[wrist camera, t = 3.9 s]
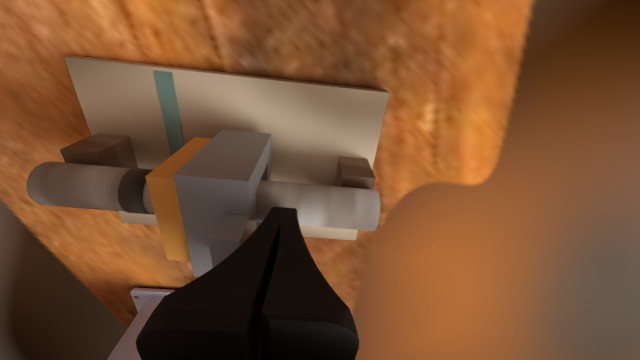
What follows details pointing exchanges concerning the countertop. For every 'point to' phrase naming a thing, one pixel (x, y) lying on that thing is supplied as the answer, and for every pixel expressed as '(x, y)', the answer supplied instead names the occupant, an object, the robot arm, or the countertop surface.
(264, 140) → the sleeve
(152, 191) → the orange square ring
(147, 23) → the countertop surface
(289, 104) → the pipe rig
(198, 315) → the robot arm
